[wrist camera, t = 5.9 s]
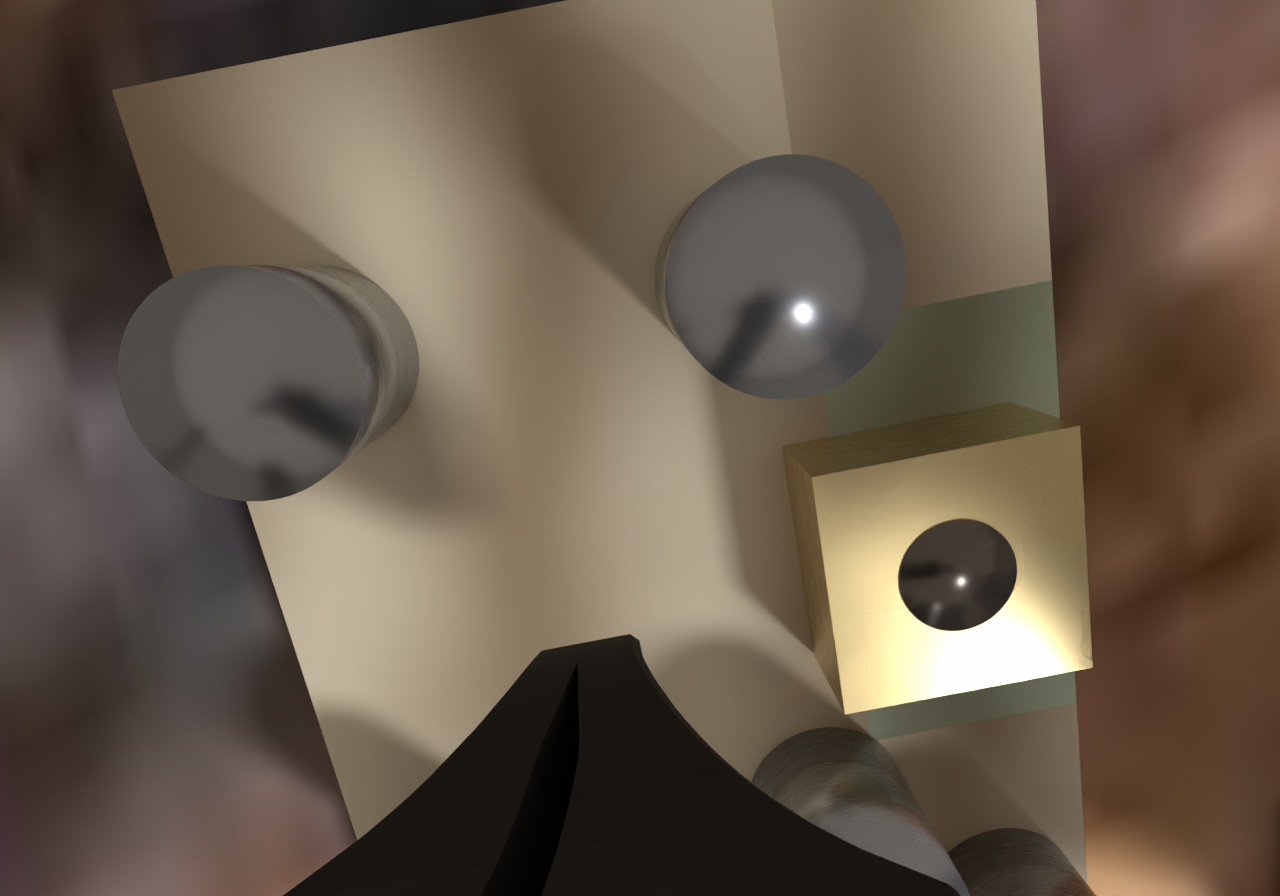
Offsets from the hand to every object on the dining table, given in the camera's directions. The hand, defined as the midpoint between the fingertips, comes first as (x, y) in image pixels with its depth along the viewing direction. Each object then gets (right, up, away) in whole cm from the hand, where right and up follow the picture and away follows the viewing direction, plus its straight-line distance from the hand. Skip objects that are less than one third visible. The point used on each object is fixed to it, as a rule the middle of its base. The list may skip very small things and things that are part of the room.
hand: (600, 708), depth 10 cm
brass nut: (+5, +2, +3) cm, 7 cm away
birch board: (+1, +1, +5) cm, 5 cm away
